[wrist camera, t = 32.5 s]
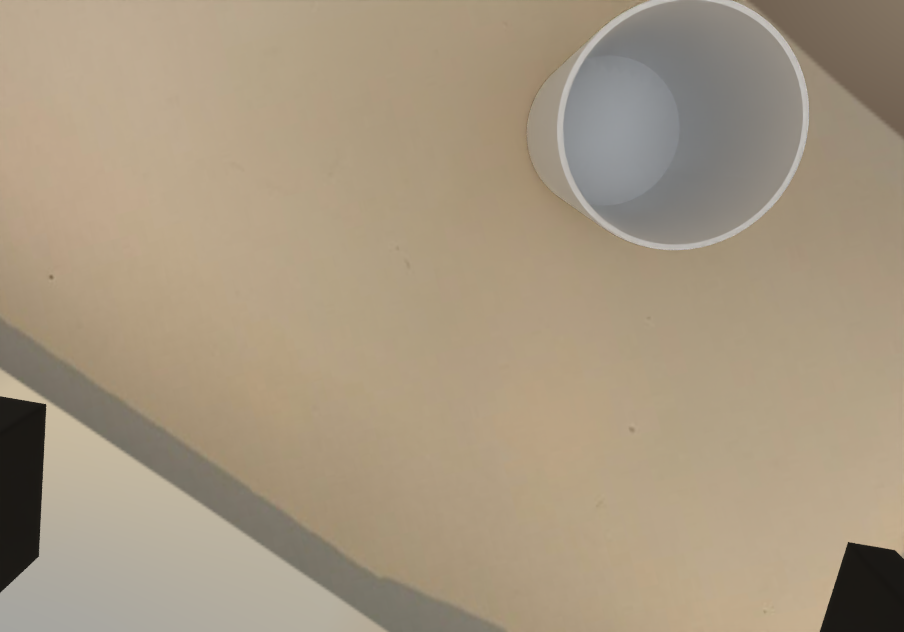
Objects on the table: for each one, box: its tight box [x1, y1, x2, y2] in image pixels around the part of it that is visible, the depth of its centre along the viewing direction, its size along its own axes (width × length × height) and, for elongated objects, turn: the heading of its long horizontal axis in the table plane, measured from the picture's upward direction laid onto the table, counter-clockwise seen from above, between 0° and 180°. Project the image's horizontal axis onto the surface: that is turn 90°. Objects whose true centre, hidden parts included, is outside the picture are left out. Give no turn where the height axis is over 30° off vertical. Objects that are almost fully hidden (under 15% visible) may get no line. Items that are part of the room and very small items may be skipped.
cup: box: [527, 0, 809, 250], centre depth 33 cm, size 8×8×16 cm
